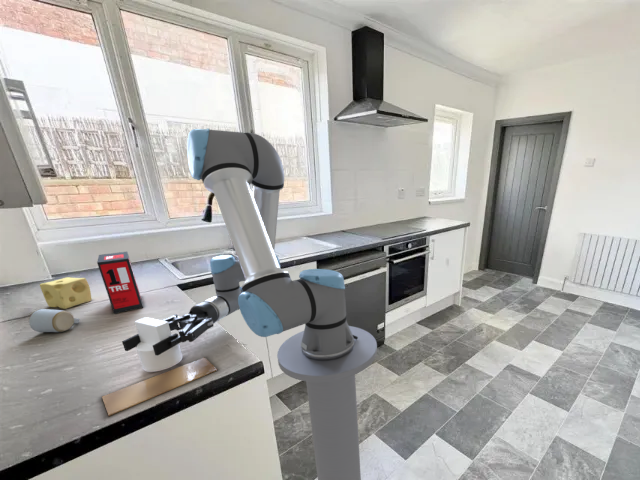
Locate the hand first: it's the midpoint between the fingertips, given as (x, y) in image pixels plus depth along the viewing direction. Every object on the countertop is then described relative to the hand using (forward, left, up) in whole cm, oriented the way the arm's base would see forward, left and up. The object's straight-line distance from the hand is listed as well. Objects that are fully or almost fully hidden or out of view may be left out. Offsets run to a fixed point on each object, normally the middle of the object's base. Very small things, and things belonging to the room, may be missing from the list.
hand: (139, 348), depth 77 cm
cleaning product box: (+18, -63, -8) cm, 66 cm away
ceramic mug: (+33, -46, -8) cm, 57 cm away
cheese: (+40, -76, -8) cm, 86 cm away
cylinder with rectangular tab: (-3, -3, -7) cm, 8 cm away
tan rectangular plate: (-4, +6, -8) cm, 11 cm away
